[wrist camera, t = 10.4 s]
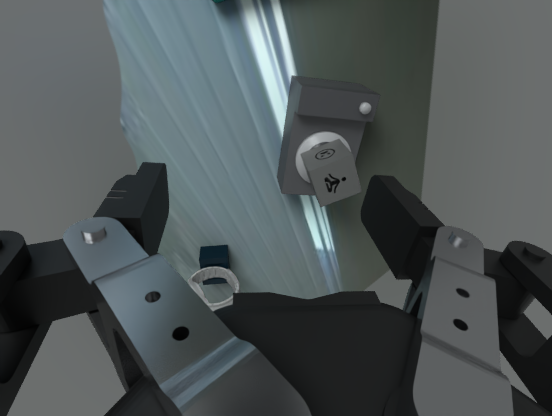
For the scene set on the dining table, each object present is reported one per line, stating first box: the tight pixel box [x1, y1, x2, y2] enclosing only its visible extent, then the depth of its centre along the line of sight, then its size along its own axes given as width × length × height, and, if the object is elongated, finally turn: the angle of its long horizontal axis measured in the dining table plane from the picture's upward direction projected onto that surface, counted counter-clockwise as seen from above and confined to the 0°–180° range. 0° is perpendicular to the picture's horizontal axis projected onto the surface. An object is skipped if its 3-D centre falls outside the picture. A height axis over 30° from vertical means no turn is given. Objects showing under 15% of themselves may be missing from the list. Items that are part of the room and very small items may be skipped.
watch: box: [188, 245, 240, 311], centre depth 48 cm, size 6×8×11 cm
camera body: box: [277, 76, 380, 195], centre depth 40 cm, size 14×9×7 cm, turn 173°
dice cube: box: [300, 139, 362, 207], centre depth 37 cm, size 5×5×5 cm
